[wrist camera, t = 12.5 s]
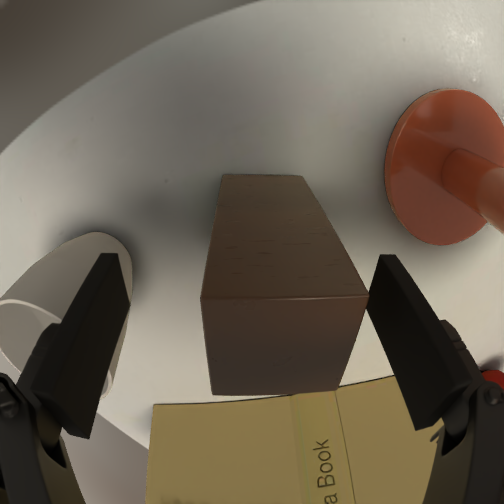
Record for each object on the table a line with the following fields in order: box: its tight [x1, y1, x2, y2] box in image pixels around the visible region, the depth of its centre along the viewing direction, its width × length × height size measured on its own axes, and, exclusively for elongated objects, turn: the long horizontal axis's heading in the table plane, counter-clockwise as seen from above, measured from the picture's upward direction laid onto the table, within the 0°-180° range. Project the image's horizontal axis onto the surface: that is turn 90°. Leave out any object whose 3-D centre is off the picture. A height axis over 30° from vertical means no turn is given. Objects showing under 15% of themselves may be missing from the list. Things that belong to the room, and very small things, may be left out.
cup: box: [0, 232, 132, 400], centre depth 17 cm, size 8×8×10 cm
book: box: [145, 376, 444, 504], centre depth 23 cm, size 36×8×24 cm, turn 98°
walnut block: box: [200, 175, 369, 396], centre depth 15 cm, size 5×5×12 cm
